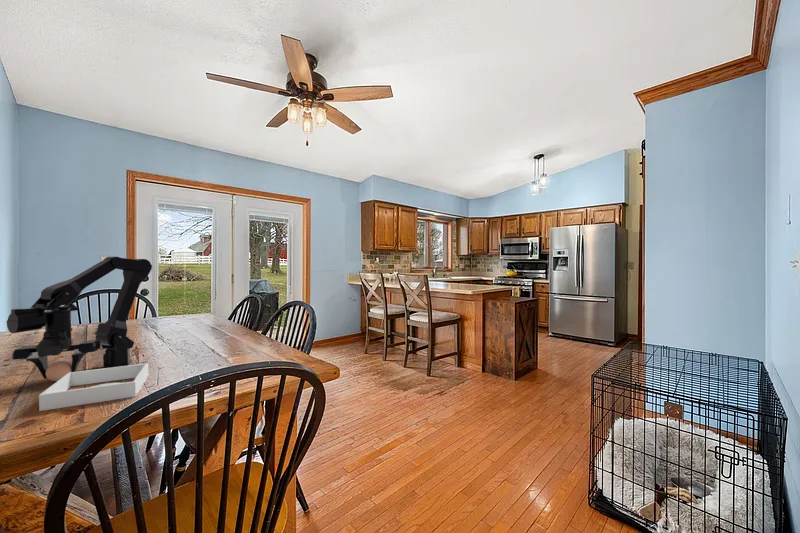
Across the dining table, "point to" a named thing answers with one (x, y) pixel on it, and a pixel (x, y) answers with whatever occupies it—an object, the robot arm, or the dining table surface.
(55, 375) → the ball
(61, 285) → the robot arm
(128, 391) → the walled pen
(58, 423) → the dining table surface
